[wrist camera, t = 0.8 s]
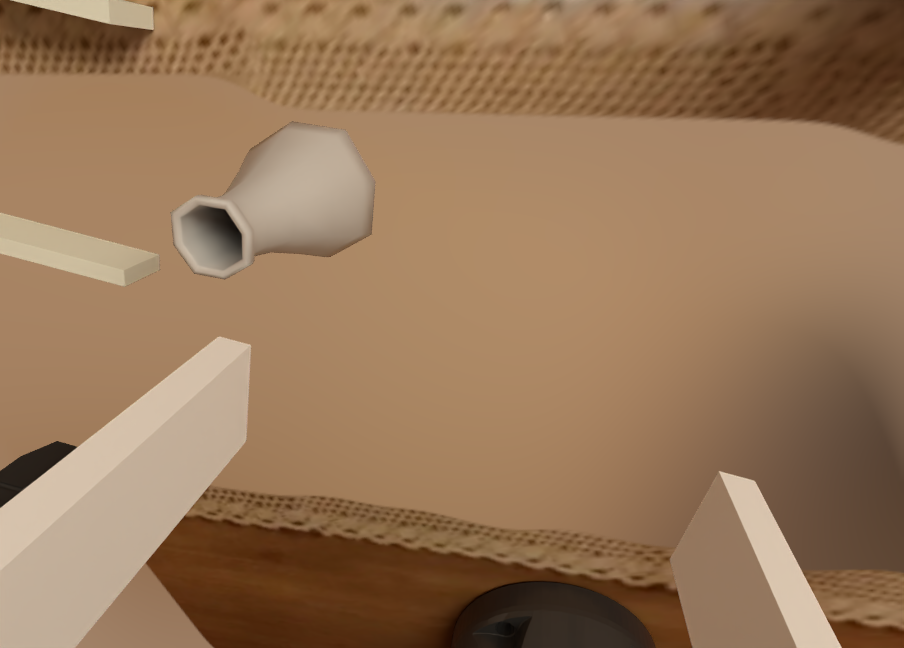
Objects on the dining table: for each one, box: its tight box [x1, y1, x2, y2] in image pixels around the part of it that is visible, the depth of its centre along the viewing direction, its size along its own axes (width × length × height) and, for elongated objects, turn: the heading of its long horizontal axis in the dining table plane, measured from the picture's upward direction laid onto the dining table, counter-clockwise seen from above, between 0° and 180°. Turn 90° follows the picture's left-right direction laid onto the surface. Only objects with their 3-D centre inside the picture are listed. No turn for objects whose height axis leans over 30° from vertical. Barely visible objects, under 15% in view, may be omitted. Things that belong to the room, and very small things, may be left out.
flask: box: [171, 121, 375, 279], centre depth 25 cm, size 7×7×10 cm
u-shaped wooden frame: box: [0, 0, 160, 287], centre depth 28 cm, size 14×14×3 cm
